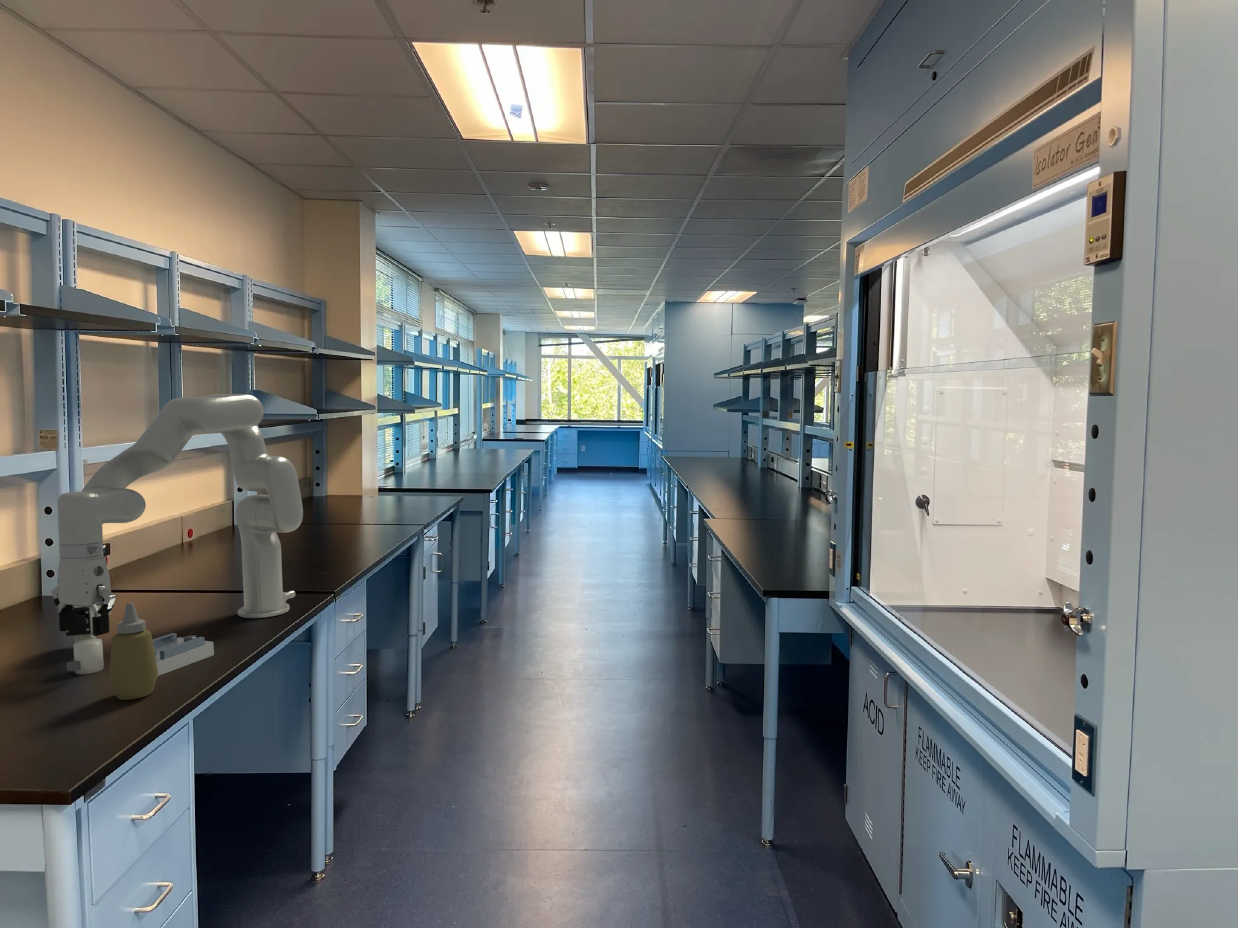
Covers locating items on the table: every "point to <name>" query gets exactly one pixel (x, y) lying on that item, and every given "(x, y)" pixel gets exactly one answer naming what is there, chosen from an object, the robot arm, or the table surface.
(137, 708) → the table surface
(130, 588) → the table surface
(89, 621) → the pneumatic valve
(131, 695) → the squeeze bottle
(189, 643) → the grey fixture tray
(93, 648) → the white rounded cylinder
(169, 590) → the table surface
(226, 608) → the table surface
